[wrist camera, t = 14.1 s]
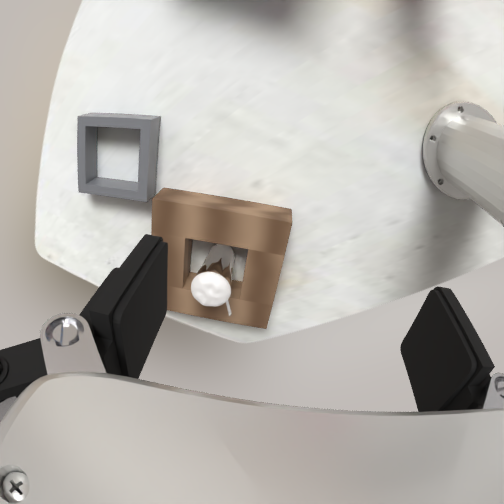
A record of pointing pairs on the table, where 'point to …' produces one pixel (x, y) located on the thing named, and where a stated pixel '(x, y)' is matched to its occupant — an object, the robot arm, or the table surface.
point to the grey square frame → (147, 156)
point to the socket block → (226, 233)
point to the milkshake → (215, 277)
